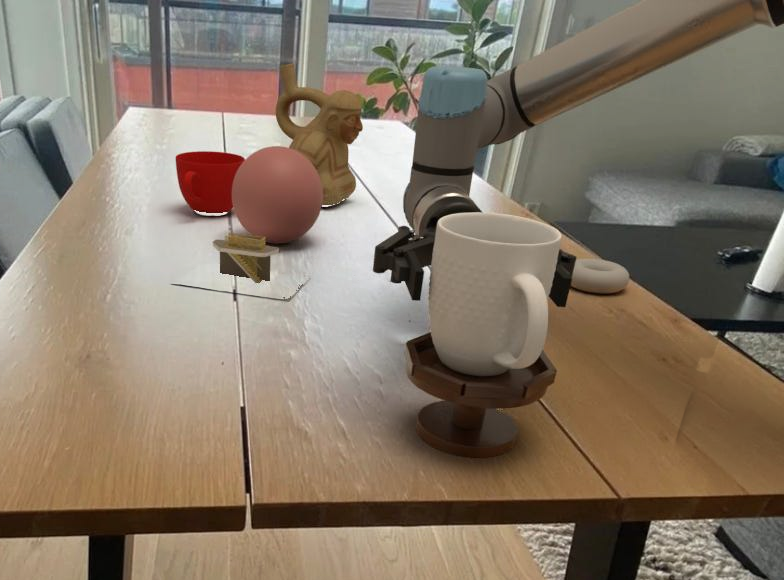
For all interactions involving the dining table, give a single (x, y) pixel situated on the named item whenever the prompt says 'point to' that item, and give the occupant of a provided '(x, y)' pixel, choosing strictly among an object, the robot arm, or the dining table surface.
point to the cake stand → (471, 401)
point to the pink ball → (277, 194)
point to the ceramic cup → (207, 179)
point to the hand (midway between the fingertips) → (491, 289)
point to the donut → (599, 276)
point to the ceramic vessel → (323, 133)
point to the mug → (490, 291)
